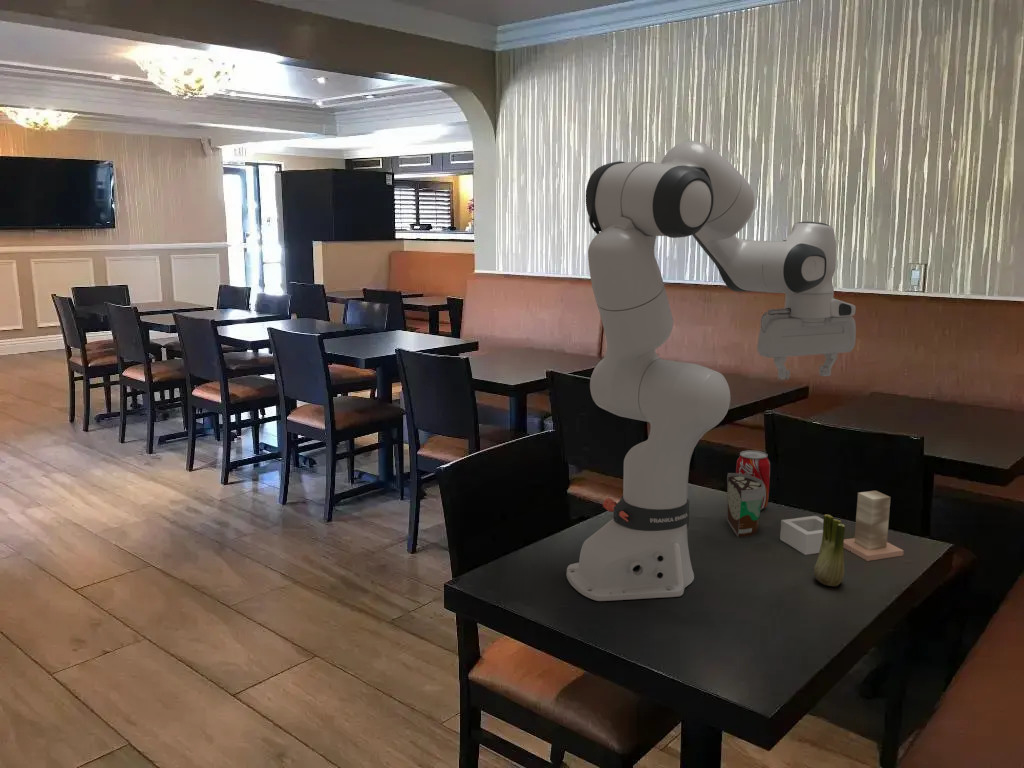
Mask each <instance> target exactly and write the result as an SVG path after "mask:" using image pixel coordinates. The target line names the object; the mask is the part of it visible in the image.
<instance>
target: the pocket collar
mask: <svg viewBox="0 0 1024 768" xmlns="http://www.w3.org/2000/svg"><path fill="white" fill-rule="evenodd" d="M823 521H824V518H821V517H820V516H818V515H812V516H811V515H810V516H802V517H797V518H796V517H794V518H789V519H781V521H780V534H779V535H780V538H779V540H780V541H782V542H784V543H785V544H786V545H788V546H789V547H792V548H794V549H795V550H796V551H798V552H799V553H801V554H803V555H805V556H807V555H808V556H809V555H813V554H819V551H820V547H821V543H822V537H823Z"/></svg>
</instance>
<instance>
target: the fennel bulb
mask: <svg viewBox="0 0 1024 768" xmlns="http://www.w3.org/2000/svg"><path fill="white" fill-rule="evenodd" d="M823 519H824V521H823V537H822V543H821V547H820V551H819V553H818V556H817V559H816V563H815V564H814V568H813V575H814V578H815V579H816V580H817V581H818V583H820V584H822V585H824V586H829V587H838V586H839V585H841V583H842V581H843V579H844V576H845V561H844V548H843V545H844V539H845V530H846V526H845V524H843V523H842V521H841V520H839V519H835V518H834V516H832V515H831V514H827V513H826V514H824V515H823Z"/></svg>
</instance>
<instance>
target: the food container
mask: <svg viewBox="0 0 1024 768" xmlns="http://www.w3.org/2000/svg"><path fill="white" fill-rule="evenodd" d="M726 477H727V478H726V482H727V487H726V488H727V491H726V493H727V494H726V495H727V496H726V499H727V500H726V501H727V502H726V521H727V523H728V524H729V525H730V527H731V529H732V530H733V532H734V533H735V535H736V536H737V538H746V537H751V536H754V535H756V533H758V530H759V522H760V514H761V510H760V508H761V501H762V498H763V497H764V496H765V495H766V492H765V486H764V484H763V482H762V481H761V480H760V479H758V478H756V477H753V476H750V475H745V474H738V473H736V472H727V476H726Z"/></svg>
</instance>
